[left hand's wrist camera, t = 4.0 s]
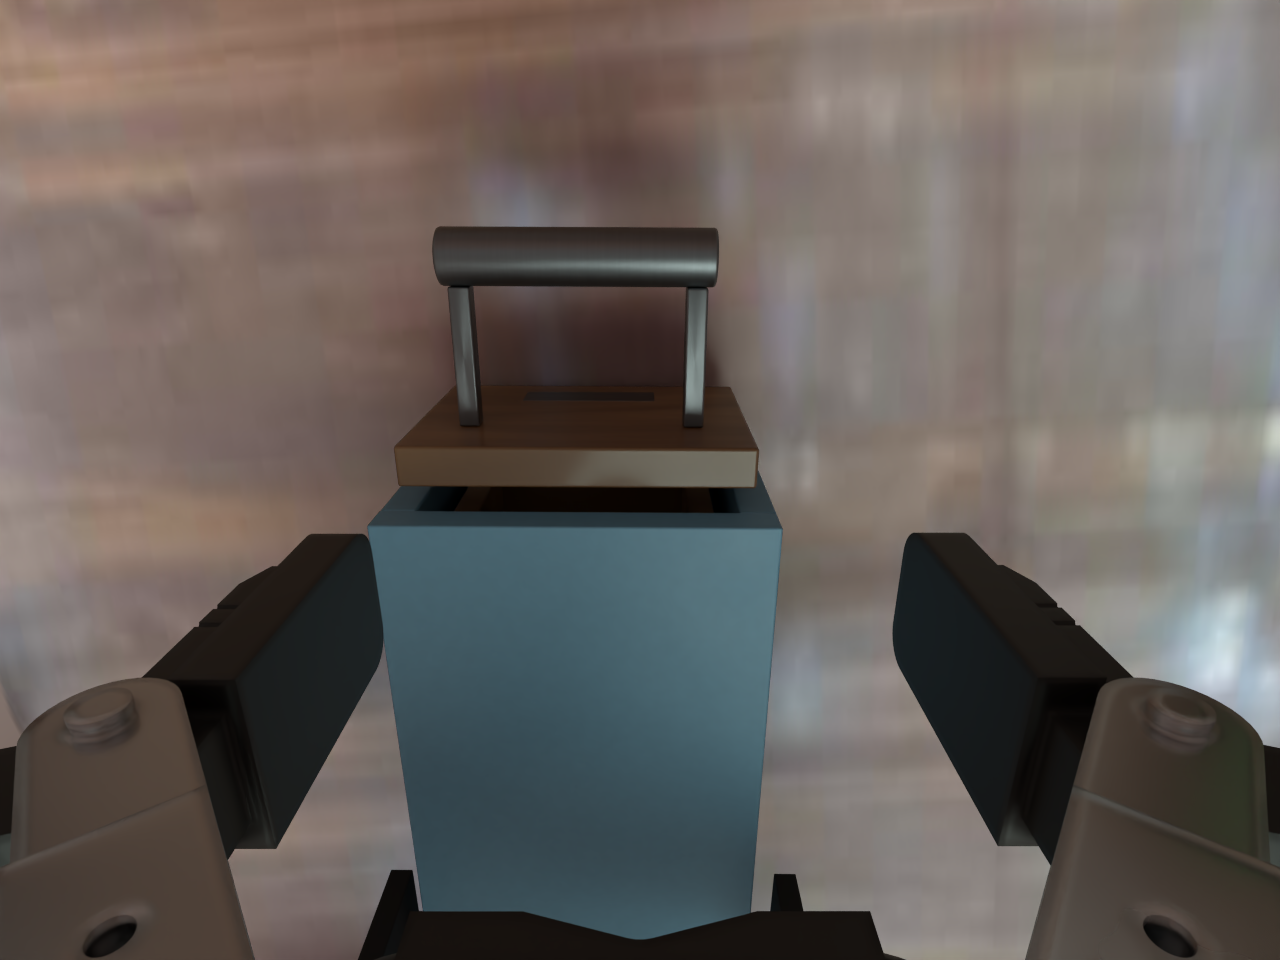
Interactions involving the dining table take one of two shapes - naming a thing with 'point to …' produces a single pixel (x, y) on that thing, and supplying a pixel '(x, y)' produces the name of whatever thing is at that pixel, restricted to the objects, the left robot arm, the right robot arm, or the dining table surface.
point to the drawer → (579, 387)
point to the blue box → (581, 704)
